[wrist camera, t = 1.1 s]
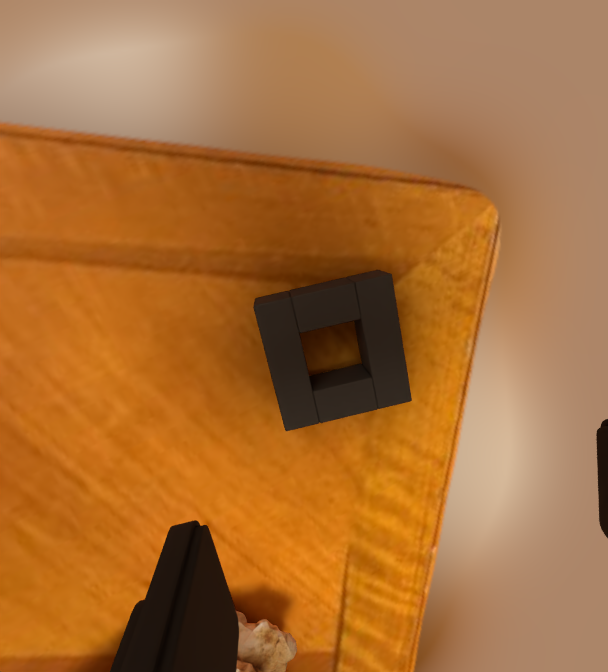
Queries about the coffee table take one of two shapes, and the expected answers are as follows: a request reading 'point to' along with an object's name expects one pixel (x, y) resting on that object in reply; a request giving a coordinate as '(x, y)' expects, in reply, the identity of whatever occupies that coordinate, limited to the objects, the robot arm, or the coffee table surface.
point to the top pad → (346, 383)
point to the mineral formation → (263, 647)
